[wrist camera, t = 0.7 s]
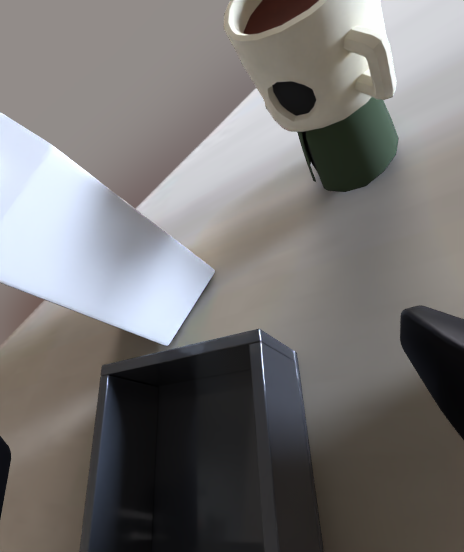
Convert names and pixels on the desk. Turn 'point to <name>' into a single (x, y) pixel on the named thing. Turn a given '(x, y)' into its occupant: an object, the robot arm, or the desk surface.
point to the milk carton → (88, 243)
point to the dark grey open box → (202, 452)
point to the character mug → (322, 80)
